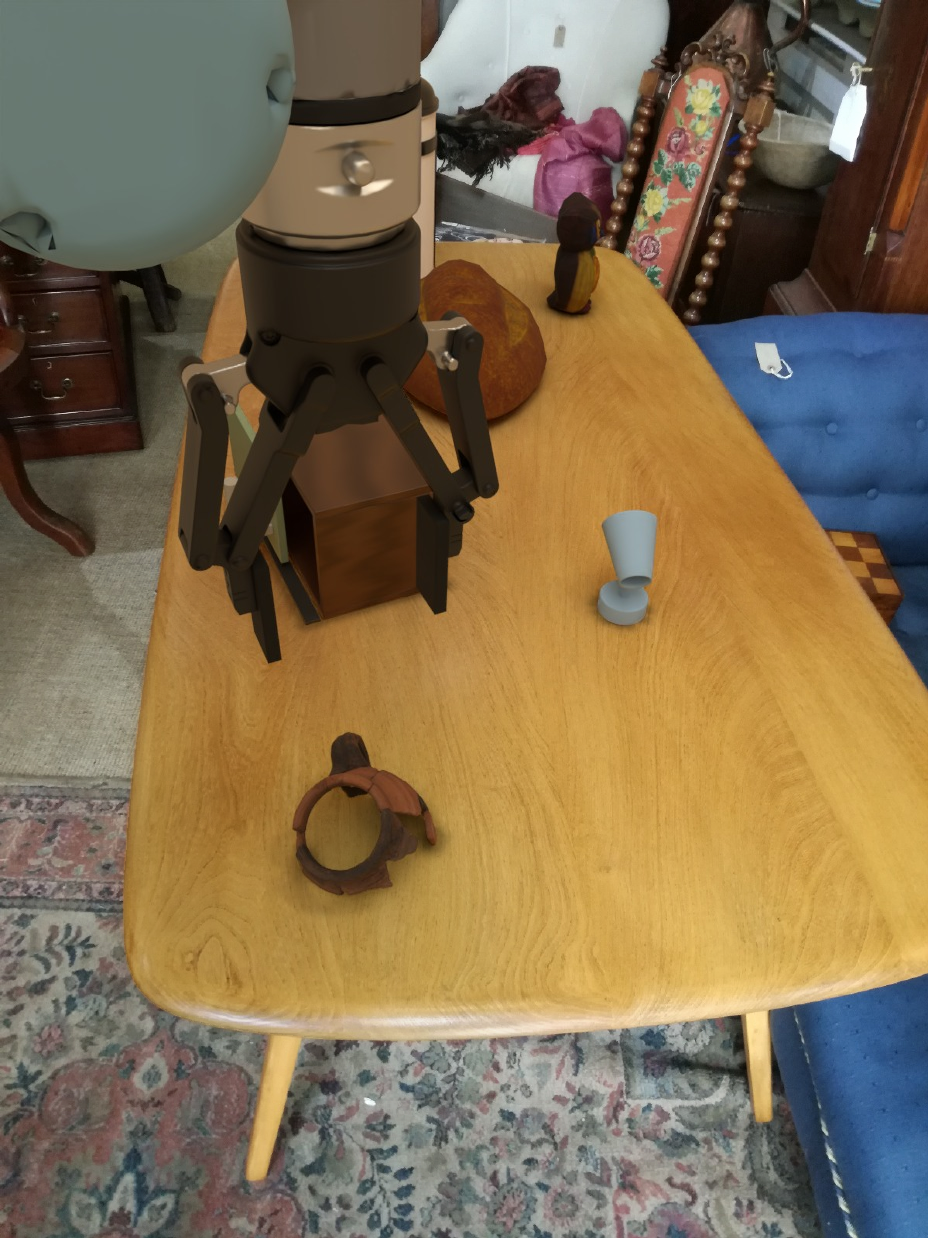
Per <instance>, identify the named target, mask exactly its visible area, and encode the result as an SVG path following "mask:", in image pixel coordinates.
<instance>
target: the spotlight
mask: <svg viewBox="0 0 928 1238" xmlns="http://www.w3.org/2000/svg"><path fill="white" fill-rule="evenodd" d="M601 529H602V532H603V535H604V538H605V543H606V547H607V549H608V552H609V556H610V560H611V563H612V566H613V569H614V573H615V576H616V579H615V580H610V581H608V582H606V583H604V584H603V585H602V586H601V588H600V590H599V595H598V599H597V605H596V606H597V607H596V608H597V611H598V613H599V615H600V616H601V617H602V618H603V619H604V620H606V621H608V623H609V622H610V623H612V624H615V625H620V626H632V625H635V624H639V623H640V622H641V621H642V620H644V618H645V616H646V612H647V609H648V604H649V594H648V592H647V591H646V590H645V587H648V586H650V585H651V584H652V582H653V575H654V562H655V555H656V553H655V552H656V542H657V531H658V517H657V515H655V514H654V513H652V512H649V511H646V510H640V509H630V510H624V511H623V510H622V511H619V512H615V513H613V514H611V515H609V516H607V517H606V518H605V519H604V520H603V521H602V523H601Z"/></svg>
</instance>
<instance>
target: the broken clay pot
mask: <svg viewBox="0 0 928 1238" xmlns="http://www.w3.org/2000/svg"><path fill="white" fill-rule="evenodd" d="M330 759H331V770H330V772H329V774H328V776H326V777H324V778H323V779H321V780H320V781H318V782H317V783H315V784H314V785H312V787H311V788H310V789H308V791H307V792H306V793H304V795H303V796H302V798H301V800H300V802H299V803H298V805H297V807H296V810H295V812H294V816H293V819H292V827H291V828H292V830H293V831H294V832H296V839H295V850H296V851H295V856H296V859H297V860H298V863H299V865H300V867H301V868H302V873H303V875H304V876H305V878H307V879H308V880H309V882H311V883H312V884H314V886H316V887H317V888H319V889H321V890H322V891H325V892H327V893H330V894H332V895H335V896H338V897H340V896H343V895H344V894H347V895H348V896H355V895H356V896H357V895H359V894H362V893H365V892H368V891H371V890H377V889H388V888H393V887H394V884H393V882H392V881H391V878H390V874H389V870H388V865H387V862H396V861H400V860H403V859H404V858H405V857H406V856H408V855H412V854H414V853H415V852H416V850H417V848H418V845H419V842H420V840H419V838H418V837H416V836H415V835H414V834H411V831H410V830H409V829H408V827H407V826H405V825H404V823H403V822H402V821H401V820H400V819H399V817H398V816H397V815H401V814H402V815H407V816H410V817H418V816H420V815H421V816H422V818H423V820H424V825H425V826H424V827H425V833H426V834H425V835H426V838H427V840H428V841H429V843H430V844H431V845H432V846H435V845H436V844H437V843H438V839H437V838H438V837H437V830H436V827H435V824H434V822H433V817H432V814H431V812H430V809H429V807H428V806H427V805H428V804H426V802H425V800H424V798H423V797H422V796H421V795H420V794H419V792H418V791H417V790H416V789H415V788H414V787H413V786H412V785H411V784H410V783H408V782H407V781H406V780H404V779H402V778H401V777H399V776H398V775H397V774H395V773H393V772H390V771H388V770H385V769H380V770H378V768H377V767H374V766H372V764H371V760H370V756H369V752H368V749H367V746H366V743H365V742H364V739H363V737H362V735H360V734H357V733H355V732H350V731H346V732H344V733H343V734H340V735H338V736H337V737H336V738H335V739H334V740H333V742H331V747H330ZM336 788H337V789H338V788H340V789H341V790H342V791H343V792H344V793H345V795H346V797H347V798H348V799H354V798H356V797H360V796H365V795H369V796H370V797H371V798H372V799H373V801H374V802H375V805H376V807H377V809H378V812H379V814H380V831H379V834H378V835H379V836H378V838H377V842H376V843H375V846H374V848H373V849H372V851H371V853H370V854H369V856H368V857H367V858H365V859H364V860H363V861H361V862H360V863H358V864H357V865H354V866H353V867H350V868H348V869H347V868H346V869H331V868H329V867H326V866H324V865H322V864H321V863H319V861H318V860H317V859H316V858H315V857H314V856H313V854H312V853H311V851H310V849H309V848H308V845H307V841H306V840H307V839H306V833H307V827H308V822H309V818H310V815H311V813H312V811H313V809H314V807H315V806H316V804H317V803H318V802H319V801H320V799H321V798H323V796H325V795H326V794H328V793H329V792H331V791H332V790H334V789H336Z"/></svg>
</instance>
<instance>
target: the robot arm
mask: <svg viewBox="0 0 928 1238" xmlns="http://www.w3.org/2000/svg"><path fill="white" fill-rule="evenodd" d="M422 3H423V0H0V241H1V242H2V243H4V244H6V245H8V246H9V247H11V248H14V249H16V250H19V251H21V252H24V253H27V254H29V255H31V256H33V257H37V258H40V259H43V260H47V261H50V262H52V263H56V264H59V265H63V266H66V267H70V268H73V269H81V270H87V271H89V270H90V271H98V272H115V271H116V272H119V271H120V272H123V271H127V272H128V271H134V270H140V269H147V268H152V267H155V266H157V265H161V264H164V263H167V262H171V261H174V260H177V259H178V258H180V257H183V256H185V255H188V254H189V253H191V252H192V253H193V252H194V251H197V249H199V248H201V247H202V246H204V245H206V244H208V243H209V242H211V241H213V240H215V238H217V237H219V236H220V235H221V234H222V233H223V232H225V231H226V230H227V229H228V228H230V227H231V226H232V225H233V224H235V223H236V221H237V220H238V219H239V218H240V217H241V220H240V222H239V223H238V224H237V225H236V228H235V242H236V250H237V258H238V266H239V274H240V275H239V276H240V283H241V290H242V299H243V306H244V316H245V322H246V328H245V332H244V333H245V334H244V337H243V340H242V342H241V344H240V347H239V350H238V354H234V355H231V356H227V357H223V358H220V359H217V360H212V361H210V362H209V361H208V362H206V363H205V362H204V360H203V359H201V357H199V356H196V355H187V356H185V357H183V358H181V360H180V361H179V362H178V365H177V367H176V368H177V374H178V377H179V380H180V383H181V386H182V390H183V393H184V396H185V399H186V402H187V405H188V407H187V418H186V419H187V420H186V431H185V441H184V442H185V444H184V454H183V464H182V466H183V467H182V478H181V488H180V489H181V490H180V502H179V512H178V525H177V526H178V527H177V537H178V539H179V542H180V545H181V547H182V549H183V552H184V554H185V557H186V560H187V562H188V564H189V566H190V568H191V569H192V570H194V571H196V572H204V571H208V570H210V569H211V568H212V567H215V566H217V567H221V568H222V569H223V575H224V581H225V587H226V593H227V595H228V597H229V599H230V601H231V604H232V606H233V609H234V610H235V612H236V613H237V614H238V616H243V615H247V614H250V616H251V623H252V629H253V633H254V635H255V637H256V640H257V642H258V644H259V647H260V649H261V651H262V653H263V656H264V657H265V660H266V662H267V664H268V665H270V664H273V663H276V662H280V661H282V659H283V658H282V651H281V643H280V636H279V629H278V622H277V613H276V606H275V605H276V604H275V599H274V591H273V584H272V583H273V582H272V576H271V570H270V569H271V568H270V565H269V564H268V562H267V560H266V558H265V556H264V553H263V552H262V550H261V548H260V547H261V545H262V543H263V538H264V536H265V534H266V531H267V529H268V527H269V524H270V522H271V520H272V517H273V515H274V513H275V510H276V508H277V506H278V503H279V501H280V499H281V497H282V494H283V492H284V490H285V487H286V485H287V483H288V480H289V478H290V476H291V473H292V471H293V469H294V466H295V464H296V462H297V460H298V458H299V457H303V456H304V455H305V454H306V452H307V450H308V448H309V446H310V443H311V441H312V439H313V436H314V434H316V435H317V434H322V433H327V432H331V431H333V430H336V429H338V428H340V427H342V426H344V425H347V424H358V425H364V424H369V423H374V422H378V416H380V415H382V414H383V416H384V417H385V419H386V420H387V422H388V424H389V425H390V427H391V428H392V430H393V431H394V433H395V435H396V436H397V438H398V439H399V441H400V442H401V444H402V445H403V447H404V449H405V450H406V452H407V453H408V455H409V456H410V458H411V459H412V461H413V463H414V464H415V466H416V467H417V469H418V470H419V472H420V474H421V475H422V477H423V478H424V480H425V481H426V483H427V484H428V486H429V488H430V489H431V490H432V492H433V499H432V497H431V496H430V495H429V494H427V495H422V496H418V497H416V588H417V589H418V591H419V592H420V593H419V594H420V595H421V597H422V598H423V600H424V602H425V603H426V604H427V606H428V607H429V609H430V610H431V612H432V613H433V615H434V616H436V615H440V614H444V613H446V612H448V611H447V610H448V609H447V607H448V585H449V584H448V582H449V581H448V579H449V559H450V558H455V557H458V556H459V555H460V553H461V551H462V549H463V537H464V536H463V535H464V534H463V533H464V525H465V524H467V523H470V521H472V520H473V518H474V517H475V511H476V510H475V508H474V506H473V505H472V504H471V503H472V502H474V501H475V500H477V499H478V498H482V499H484V500H487V499H491V498H493V497H495V495H497V493H498V491H499V490H500V482H499V477H498V472H497V471H498V470H497V466H496V460H495V456H494V451H493V446H492V441H491V440H492V439H491V436H490V430H489V425H488V421H487V419H486V414H485V408H484V403H483V398H482V393H481V388H480V382H479V377H478V375H479V369H480V363H481V357H482V351H483V345H484V338H483V336H482V334H480V333H479V332H478V331H477V330H476V329H475V328H474V327H473V326H472V325H471V324H470V323H469V322H468V321H467V320H466V319H465V318H464V317H463V316H462V315H461V314H460V313H458V312H457V311H454V310H451V311H447V312H446V313H444V314H443V316H442V317H441V318H440V321H428V322H422V321H421V319H420V316H419V312H418V308H419V305H420V299H421V230H420V227H419V225H418V224H417V222H416V221H415V220H414V219H413V217H412V216H413V215H414V214H415V213H416V212H417V211H418V208H419V206H420V204H421V121H422V101H421V78H420V77H422V74H421V67H422V63H421V62H422V9H423V8H422ZM426 351H428V356H429V358H430V359H431V360H432V361H433V362H434V363H435V364H436V368H437V373H438V378H439V382H440V386H441V391H442V395H443V399H444V404H445V408H446V412H447V415H446V416H447V421H448V425H449V429H450V434H451V438H452V442H453V447H454V451H455V456H456V461H457V465H458V469H456V470H455V471H453V472H451V470H450V469H449V467H448V466H447V463H446V461H445V460H444V459H443V457H442V456H441V454H440V452H439V450H438V449H437V447H436V445H435V444H434V442H433V440H432V439H431V437H430V436H429V434H428V432H427V430H426V429H425V427H424V425H423V424H422V422H421V418H420V417H419V415H418V413H417V412H416V410H415V409H414V407H413V405H412V403H411V402H410V400H409V398H408V397H407V395H406V394H405V391H404V390H403V389H404V388H403V387H404V385H405V384H406V382H407V381H408V379H409V378H410V376H411V374H412V373H413V371H414V370H415V368H416V367H417V365H418V364H419V362H420V360H421V359H422V357H423V356H424V354H425V352H426ZM250 384H251V385H252V386H254V387H255V388H256V389H257V391H259V392H260V393H261V394H262V395H263V396H265V398H264V400H263V403H262V405H261V408H260V411H259V413H258V414H259V416H258V418H259V419H258V429H257V430H256V432H255V433H256V436H255V438H254V441H253V443H252V445H251V448H250V450H249V453H248V455H247V458H246V460H245V463H244V465H243V468H242V470H241V473H240V475H239V478H238V480H237V483H236V485H235V488H234V490H233V493H232V495H231V498H230V500H229V502H228V505H226V506H225V510H224V512H223V515H222V517H221V512H222V504H223V494H224V487H223V486H224V479H225V478H226V469H227V460H228V450H229V444H230V437H229V427H228V420H227V416H226V415H232V414H234V413H235V411H236V407H237V406H238V404H240V403H239V402H240V400H239V399H240V393H241V391H242V390H243V388H245V387H246V386H247V385H250ZM220 519H221V520H220Z"/></svg>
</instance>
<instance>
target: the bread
mask: <svg viewBox="0 0 928 1238" xmlns="http://www.w3.org/2000/svg"><path fill="white" fill-rule="evenodd" d="M435 267H436V268H434V267H433V270H432V271H431V272H430V273H429V274H428V275H427V276H426V277H424V278H422V279H421V299H420V305H419V308H418V312H419V316H420V319H421V321H422V322H428V321H440V318H441V317H442V316H443V314H444V313H446V312H447V311H451V310H454V311H457V312H458V313H460V314H461V315H462V316H463V317H464V318H465V319H466V320H467V321H468V322H469V323H470V324H471V325H472V326H473V327H474V328H475V329H476V330H477V331H478V332H479V333H480V334H482V336H483V338H484V345H483V351H482V357H481V363H480V369H479V375H478V377H479V382H480V388H481V393H482V398H483V403H484V408H485V414H486V419H487V422H488V421H491V420H494V419H496V418H500V417H502V416H505V415H506V414H508V413H510V412H511V411H513V410H514V409H516V408H517V407H519V406H520V405H521V404H523V403H524V402H525V401H526V400H527V399H528V398H529V397H530V396H531V394H532V393H533V392H534V391H535V389H536V388H537V387H538V385H539V384H540V383H541V381H542V378H543V375H544V373H545V371H546V365H547V360H548V358H547V353H546V349H545V342H544V339H543V335H542V331H541V330H540V327H539V324H538V323H537V320H536V319H535V317H534V315H533V313H532V311H531V309H530V307H529V306H528V305H526V303H524V302H523V301H522V300H521V299H520V298H519V297H517V296H516V295H515V294H514V293H512V292H511V291H510V290H509V289H507V288H506V287H505V286H503V285H502V284H500V283H499V282H498V281H497V280H496V279H495V278H493V276H491V275H490V274H489V272H487V271H486V270H485V269H484V268H483V267H482V266H481V265H480V264H478V263H475V262H472V261H468V260H464V259H461V258H457V259H448V260H446V261H445V262H443V263H441V264H439V265H438V266H435ZM403 389H404V390H405V391H406V392H408V393H409V394H410V395H411V396H413V397H414V399H416V400H417V401H418V402H421V403H422V404H424V405H426V406H428V407H429V408H431V409H433V410H435V411H437V412H439V413H442V414H443V415H446V416H447V412H446V408H445V404H444V399H443V395H442V391H441V386H440V382H439V378H438V373H437V368H436V364H435V363H434V362H433V361H432V360H431V359H430V358H429V356H428V351H426V352H425V354H424V356H423V357H422V359H421V360H420V362H419V364H418V365H417V367H416V368H415V370H414V371H413V373H412V374H411V376H410V378H409V379H408V381H407V382H406V384H405V385H404V387H403Z"/></svg>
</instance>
